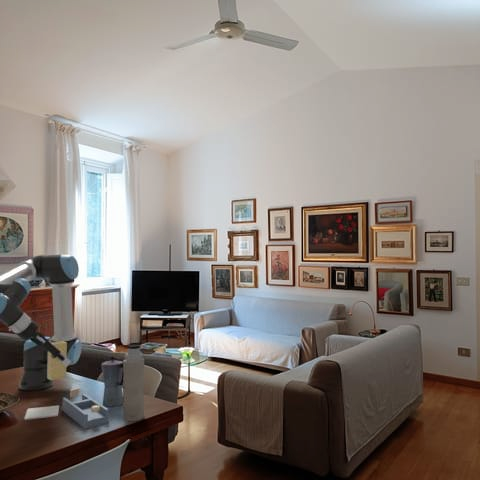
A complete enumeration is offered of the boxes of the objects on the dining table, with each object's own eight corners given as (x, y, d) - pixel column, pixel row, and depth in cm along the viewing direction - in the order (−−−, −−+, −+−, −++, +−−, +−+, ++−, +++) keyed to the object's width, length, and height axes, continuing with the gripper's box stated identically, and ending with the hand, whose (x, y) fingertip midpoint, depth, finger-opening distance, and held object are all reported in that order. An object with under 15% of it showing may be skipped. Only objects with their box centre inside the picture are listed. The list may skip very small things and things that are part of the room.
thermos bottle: (120, 421, 165) (120, 347, 167) (126, 413, 173) (126, 343, 175) (140, 421, 165) (141, 347, 166) (146, 413, 173) (146, 343, 174)
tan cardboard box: (47, 378, 173) (48, 342, 173) (62, 375, 177) (63, 341, 177) (50, 380, 170) (51, 344, 170) (65, 377, 174) (66, 342, 174)
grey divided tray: (62, 410, 177) (62, 390, 178) (84, 405, 183) (84, 386, 183) (84, 428, 158) (85, 406, 158) (108, 422, 164) (108, 401, 164)
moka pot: (111, 397, 193) (112, 352, 194) (134, 404, 184) (135, 357, 185) (93, 403, 186) (94, 356, 186) (116, 410, 177) (117, 361, 178)
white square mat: (27, 410, 178) (27, 408, 178) (59, 406, 182) (59, 405, 182) (24, 420, 167) (24, 418, 167) (57, 416, 171) (57, 414, 171)
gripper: (10, 331, 170) (52, 366, 181) (22, 337, 158) (67, 375, 168) (25, 316, 174) (65, 352, 184) (38, 321, 161) (81, 359, 172)
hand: (66, 363), depth 176 cm, fingers closed on tan cardboard box, 4 cm apart
